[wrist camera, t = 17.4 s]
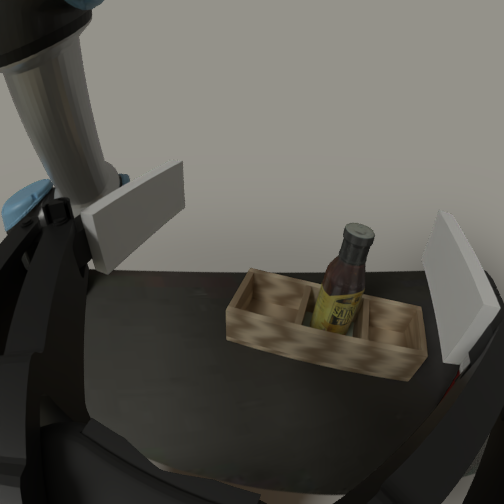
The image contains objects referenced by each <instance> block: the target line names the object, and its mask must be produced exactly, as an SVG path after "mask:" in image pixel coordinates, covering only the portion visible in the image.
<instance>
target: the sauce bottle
mask: <svg viewBox="0 0 504 504" xmlns="http://www.w3.org/2000/svg"><path fill="white" fill-rule="evenodd" d="M343 237H344V239H343V243H342V246H341V250H340V251H339V256H337V257H336V258H335V259H334V260H333V261H332V262H331V263H330V264H329V265H328V267H327V270H326V272H325V276H324V279H323V281H322V284H321V288H320V291H319V295H318V298H317V302H316V305H315V308H314V311H313V315H312V318H311V321H310V327H311V328H315V329H319V330H323V331H328V332H332V333H337V334H341V335H346V333H347V331H348V329H349V326H350V324H351V322H352V319H353V317H354V315H355V312H356V310H357V307H358V305H359V302H360V300H361V298H362V295H363V293H364V290H365V262H366V258H367V255H368V252H369V249H370V246H371V245H372V244H373V241H374V237H375V234H374V232H373V230H372V229H370V228H369V227H367V226H365V225H362V224H358V223H350V224H347V225H346V226H345V229H344V233H343Z"/></svg>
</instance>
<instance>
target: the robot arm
mask: <svg viewBox="0 0 504 504" xmlns="http://www.w3.org/2000/svg"><path fill="white" fill-rule="evenodd" d="M103 1H104V0H0V73H3V75H4V77H5V80H6V83H7V86H8V88H9V91H10V94H11V96H12V98H13V102H14V104H15V106H16V109H17V111H18V113H19V116H20V118H21V121H22V123H23V125H24V127H25V129H26V132H27V134H28V136H29V138H30V140H31V142H32V145H33V147H34V149H35V151H36V153H37V155H38V157H39V158H40V160H41V162H42V164H43V166H44V168H45V170H46V172H47V174H48V176H49V177H50V179H51V180H49V179H43V180H40V181H37V182H34V183H32V184H30V185H28V186H26V187H24V188H23V189H21V190H20V191H18V192H17V193H15V194H14V195H13V196H12V197H10V198H9V199H8V200H7V201H6V203H5V204H4V206H3V208H2V218H3V222H4V226H5V231H6V232H7V234H8V235H7V237H6V238H5V239H4V240H3V241H2V242H1V244H0V504H266V503H264V502H263V501H261V500H259V498H260V494H257V493H253V492H250V491H246V490H243V489H240V488H236V487H233V486H230V485H227V484H224V483H221V482H219V481H216V480H213V479H206V478H199V477H193V476H187V475H182V474H177V473H171V472H167V471H163V470H161V469H159V468H158V467H156V466H155V465H154V464H152V463H151V462H150V461H149V460H148V459H147V458H146V457H145V456H143V455H142V454H141V453H140V452H139V451H138V450H137V449H136V448H135V447H134V446H132V445H131V444H130V443H129V442H128V441H127V440H126V439H125V438H124V437H122V436H120V435H118V434H117V433H115V432H113V431H112V430H110V429H109V428H107V427H105V426H104V425H102V424H101V423H99V422H98V421H96V420H95V419H93V418H90V416H89V413H88V411H87V409H86V405H85V394H84V324H85V308H86V295H87V287H88V276H89V267H88V264H87V263H88V262H89V261H90V260H91V259H93V263H94V266H95V269H96V270H97V271H99V272H102V273H105V274H107V275H108V274H109V273H111V272H112V271H113V270H114V269H115V268H116V267H117V266H118V265H119V264H120V263H121V262H122V261H123V260H125V259H126V258H127V257H128V256H129V255H130V254H131V253H132V252H133V251H134V250H136V249H137V248H138V247H139V246H140V245H141V244H142V243H143V242H145V241H146V240H147V239H148V238H149V237H150V236H151V235H153V234H154V233H155V232H156V231H157V230H158V229H160V228H161V227H162V226H163V225H164V224H165V223H167V222H168V221H169V220H170V219H172V218H173V217H174V216H175V215H176V214H177V213H179V212H180V211H181V210H182V209H184V208H185V198H184V181H183V161H178V160H177V161H176V160H169V161H168V162H166V163H164V164H162V165H160V166H158V167H156V168H154V169H152V170H150V171H148V172H147V173H145V174H143V175H141V176H139V177H138V178H136V179H134V180H132V181H130V179H129V176H128V175H127V174H118V173H117V171H116V169H115V168H114V167H113V166H112V165H111V164H110V163H108V162H106V161H104V157H103V154H102V150H101V146H100V142H99V138H98V135H97V131H96V126H95V122H94V118H93V113H92V109H91V104H90V100H89V95H88V90H87V85H86V79H85V74H84V68H83V61H82V55H81V48H80V40H79V36H80V34H81V33H82V32H83V31H84V29H85V28H86V27H87V26H88V25H89V23H90V22H91V20H92V9H93V8H95V7H96V6H98V5H100V4H101V3H102V2H103ZM51 181H52V182H51ZM53 185H54V186H55V187H53ZM422 261H423V265H424V269H425V273H426V277H427V280H428V284H429V289H430V293H431V297H432V302H433V306H434V311H435V316H436V321H437V327H438V332H439V338H440V345H441V351H442V359H443V363H450V364H457V365H460V363H461V362H462V361H463V360H464V359H465V357H466V356H467V355H468V354H469V359H470V363H469V365H468V366H467V367H466V368H465V369H464V370H463V371H462V373H461V374H460V375H459V376H458V377H457V378H456V379H455V380H454V382H455V384H454V385H453V386H452V388H451V389H450V390H449V392H448V393H447V394H446V396H445V397H444V398H443V400H442V401H441V402H440V403H439V405H438V406H437V407H436V408H435V409H434V411H433V412H432V413H431V414H430V415H429V417H428V418H427V419H426V420H425V421H424V422H423V424H422V425H421V426H420V427H419V428H418V429H417V430H416V431H415V432H414V433H413V435H412V436H411V437H410V438H409V439H408V440H407V441H406V442H405V443H404V444H403V445H402V446H401V447H400V448H399V449H398V450H397V451H396V452H395V453H394V454H393V455H392V456H391V457H390V458H389V459H388V460H387V461H385V462H384V463H383V464H382V465H381V466H380V467H379V468H378V469H377V470H375V471H374V472H373V473H372V474H371V475H370V476H369V477H367V478H366V479H365V480H364V481H363V482H361V483H360V484H359V485H358V486H356V487H355V488H354V489H353V490H351V491H350V492H349V493H347V494H346V495H345V496H343V497H342V498H341V499H339V500H338V501H336V502H335V503H333V504H441V503H442V502H443V501H444V500H445V499H446V497H447V496H448V495H449V493H450V492H451V491H452V490H453V488H454V487H455V486H456V484H457V483H458V482H459V480H460V479H461V478H462V476H463V475H464V473H465V472H466V470H467V469H468V467H469V466H470V464H471V463H472V461H473V460H474V458H475V457H476V455H477V454H478V452H479V450H480V449H481V447H482V445H483V444H484V442H485V440H486V439H487V437H488V435H489V433H490V435H489V439H488V442H487V445H486V448H485V451H484V453H483V456H482V459H481V462H480V464H479V467H478V469H477V472H476V474H475V477H474V479H473V482H472V484H471V486H470V489H469V490H468V493H467V495H466V497H465V499H464V501H463V503H462V504H504V303H503V300H502V298H501V296H500V294H499V291H498V290H497V287H496V285H495V283H494V281H493V279H492V278H491V276H490V275H489V274H488V273H487V272H486V271H485V270H483V268H482V266H481V264H480V262H479V260H478V258H477V256H476V255H475V253H474V251H473V249H472V247H471V245H470V243H469V242H468V240H467V238H466V236H465V235H464V233H463V231H462V230H461V228H460V227H459V225H458V223H457V221H456V220H455V218H454V217H453V215H452V214H451V213H447V212H444V211H441V210H439V211H438V214H437V217H436V220H435V223H434V226H433V229H432V232H431V235H430V237H429V240H428V242H427V245H426V248H425V250H424V253H423V256H422ZM490 431H491V432H490Z"/></svg>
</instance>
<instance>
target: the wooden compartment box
mask: <svg viewBox="0 0 504 504" xmlns="http://www.w3.org/2000/svg"><path fill="white" fill-rule="evenodd" d="M320 288H321V284H317V283H312V282H308V281H304V280H300V279H295V278H291V277H287V276H283V275H278V274H274V273H270V272H265V271H261V270H257V269H253V268H250V269H249V271H248V273H247V274H246V276H245V278H244V280H243V281H242V283H241V285H240V287H239V288H238V290H237V292H236V294H235V295H234V297H233V299H232V300H231V302H230V304H229V306H228V307H227V309H226V338H227V340H228V341H232V342H235V343H238V344H242V345H245V346H248V347H252V348H255V349H259V350H262V351H266V352H270V353H273V354H277V355H281V356H284V357H288V358H292V359H296V360H300V361H304V362H309V363H313V364H317V365H321V366H326V367H330V368H335V369H340V370H344V371H349V372H354V373H360V374H365V375H370V376H376V377H382V378H388V379H394V380H400V381H407V382H408V381H409V380H410V379H411V378H412V376H413V375H414V374H415V373H416V371H417V370H418V369H419V367H420V366H421V365H422V364H423V362H424V361H425V360H426V358H427V357H428V354H427V344H426V336H425V329H424V322H423V315H422V309H421V307H420V306H415V305H410V304H406V303H401V302H397V301H392V300H387V299H383V298H378V297H374V296H369V295H365V294H363V295H362V298H361V300H360V302H359V305H358V307H357V310H356V312H355V315H354V317H353V319H352V322H351V324H350V326H349V329H348V331H347V333H346V335H341V334H337V333H332V332H328V331H323V330H319V329H315V328H311V327H310V321H311V318H312V315H313V311H314V308H315V305H316V302H317V298H318V295H319V291H320Z"/></svg>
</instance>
